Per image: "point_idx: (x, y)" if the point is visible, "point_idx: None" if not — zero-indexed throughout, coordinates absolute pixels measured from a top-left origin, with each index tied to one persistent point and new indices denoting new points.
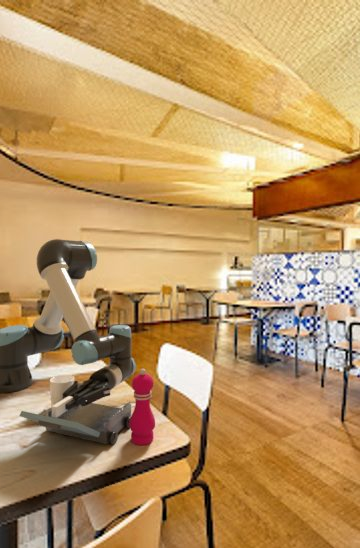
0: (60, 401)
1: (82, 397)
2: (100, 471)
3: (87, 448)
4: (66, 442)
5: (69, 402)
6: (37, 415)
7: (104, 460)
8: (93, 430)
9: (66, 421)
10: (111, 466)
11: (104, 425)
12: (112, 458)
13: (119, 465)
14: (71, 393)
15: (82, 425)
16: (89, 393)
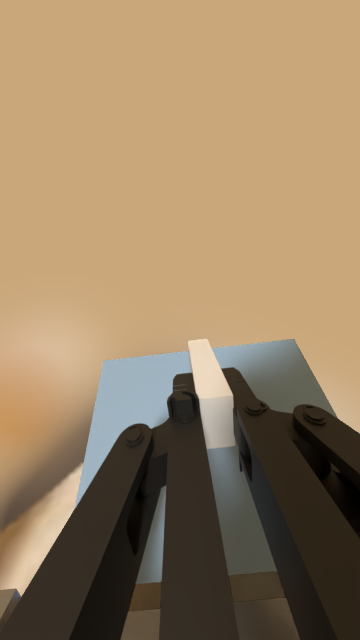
0: (211, 356)
1: (137, 425)
2: (70, 478)
3: (141, 588)
4: (260, 589)
5: (187, 385)
6: (233, 347)
7: (58, 533)
8: (80, 485)
9: (138, 358)
10: (36, 513)
11: (16, 597)
12: (25, 563)
13: (7, 531)
14: (269, 437)
15: (99, 389)
16: (98, 534)
